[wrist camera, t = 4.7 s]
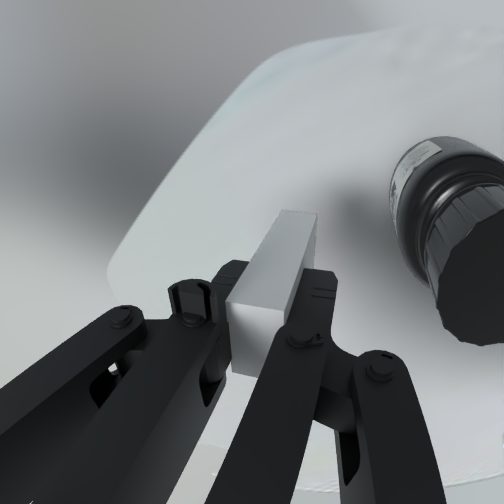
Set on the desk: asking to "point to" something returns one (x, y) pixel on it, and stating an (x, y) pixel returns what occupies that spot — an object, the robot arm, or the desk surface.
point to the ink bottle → (454, 232)
